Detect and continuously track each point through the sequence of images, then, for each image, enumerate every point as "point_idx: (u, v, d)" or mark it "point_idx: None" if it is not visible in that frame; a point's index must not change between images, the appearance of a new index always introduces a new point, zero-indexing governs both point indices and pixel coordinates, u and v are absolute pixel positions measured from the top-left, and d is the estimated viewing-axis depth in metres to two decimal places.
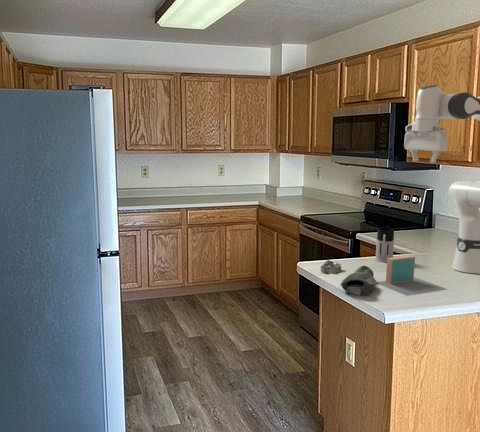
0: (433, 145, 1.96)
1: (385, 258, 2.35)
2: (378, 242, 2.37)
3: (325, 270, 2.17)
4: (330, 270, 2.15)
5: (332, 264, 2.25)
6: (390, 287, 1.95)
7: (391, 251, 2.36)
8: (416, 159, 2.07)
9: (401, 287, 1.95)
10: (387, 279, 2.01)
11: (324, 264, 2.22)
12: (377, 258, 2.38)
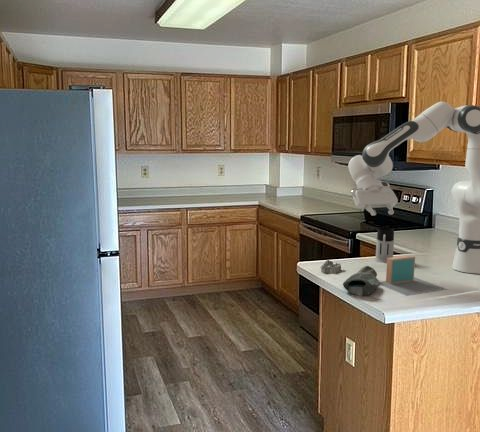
0: None
1: (385, 258, 2.35)
2: (378, 242, 2.37)
3: (325, 270, 2.17)
4: (331, 270, 2.15)
5: (331, 264, 2.25)
6: (390, 287, 1.95)
7: (391, 251, 2.36)
8: (389, 212, 2.12)
9: (401, 287, 1.95)
10: (387, 279, 2.01)
11: (324, 264, 2.22)
12: (377, 258, 2.38)
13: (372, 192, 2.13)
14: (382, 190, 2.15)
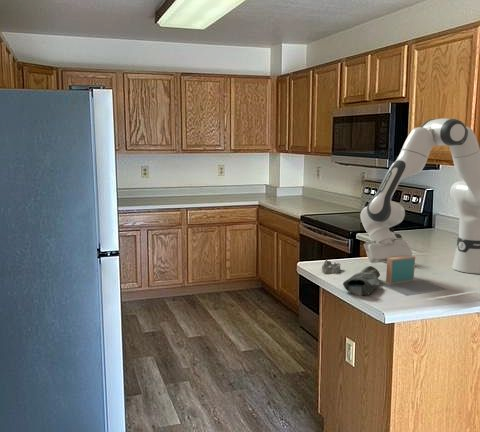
0: None
1: None
2: None
3: (327, 270, 2.17)
4: (333, 270, 2.15)
5: (330, 264, 2.25)
6: (390, 287, 1.95)
7: None
8: None
9: (401, 287, 1.95)
10: (387, 279, 2.01)
11: (324, 264, 2.21)
12: None
13: (385, 245, 2.07)
14: (396, 242, 2.09)
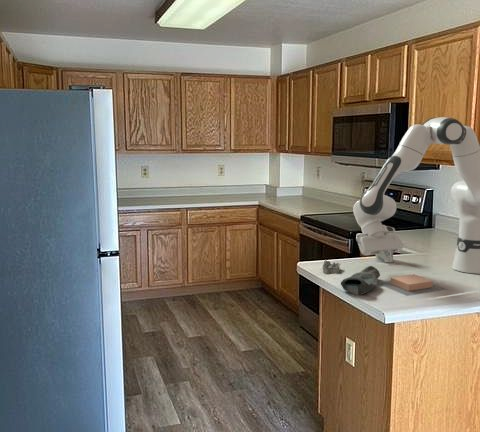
0: None
1: None
2: None
3: (328, 271, 2.16)
4: (334, 270, 2.15)
5: (329, 264, 2.25)
6: (390, 287, 1.95)
7: None
8: None
9: None
10: (393, 280, 1.98)
11: (324, 265, 2.21)
12: (377, 258, 2.38)
13: (377, 238, 2.12)
14: (387, 235, 2.14)
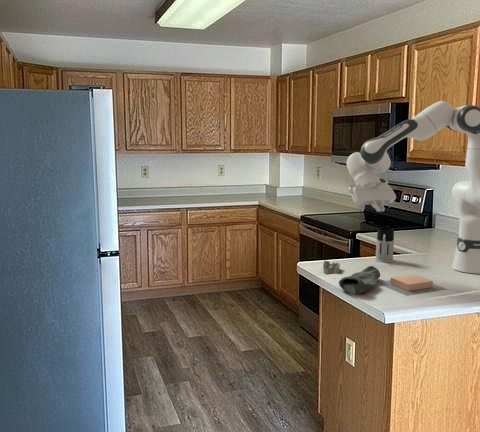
0: None
1: (385, 258, 2.35)
2: (378, 242, 2.37)
3: (329, 271, 2.16)
4: (335, 270, 2.15)
5: (328, 264, 2.25)
6: (390, 287, 1.95)
7: (391, 251, 2.36)
8: None
9: None
10: (393, 280, 1.98)
11: (324, 265, 2.21)
12: (377, 258, 2.38)
13: (370, 189, 2.14)
14: (380, 187, 2.16)
